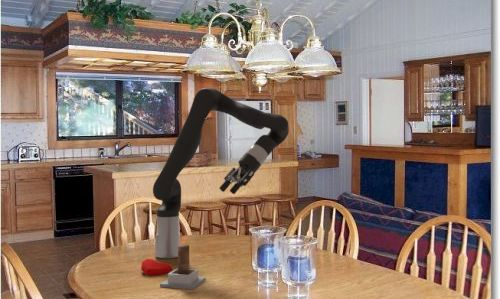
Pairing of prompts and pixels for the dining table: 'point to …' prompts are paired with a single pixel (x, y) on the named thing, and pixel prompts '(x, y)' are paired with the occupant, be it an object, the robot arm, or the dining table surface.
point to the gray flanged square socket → (183, 280)
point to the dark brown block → (183, 259)
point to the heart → (155, 267)
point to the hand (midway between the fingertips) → (226, 191)
